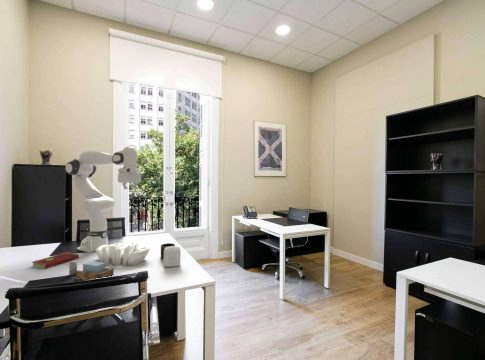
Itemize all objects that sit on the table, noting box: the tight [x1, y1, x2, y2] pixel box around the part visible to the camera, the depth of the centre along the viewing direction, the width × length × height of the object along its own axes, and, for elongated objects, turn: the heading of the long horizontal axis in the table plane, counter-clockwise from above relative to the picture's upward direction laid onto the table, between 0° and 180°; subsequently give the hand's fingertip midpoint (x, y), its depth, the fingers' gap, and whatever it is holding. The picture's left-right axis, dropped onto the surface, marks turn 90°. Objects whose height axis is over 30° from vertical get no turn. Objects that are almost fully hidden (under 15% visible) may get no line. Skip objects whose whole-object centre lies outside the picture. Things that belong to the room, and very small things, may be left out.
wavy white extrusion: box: [95, 242, 151, 266], centre depth 165 cm, size 35×16×11 cm, turn 85°
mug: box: [160, 242, 176, 261], centre depth 171 cm, size 9×12×9 cm
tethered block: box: [68, 260, 106, 276], centre depth 139 cm, size 22×5×8 cm, turn 74°
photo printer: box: [163, 245, 181, 268], centre depth 157 cm, size 10×4×12 cm, turn 103°
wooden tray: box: [75, 266, 115, 281], centre depth 137 cm, size 16×9×4 cm, turn 74°
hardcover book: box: [31, 252, 80, 270], centre depth 159 cm, size 12×21×4 cm, turn 159°
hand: (130, 189), depth 179 cm, fingers open, 8 cm apart
